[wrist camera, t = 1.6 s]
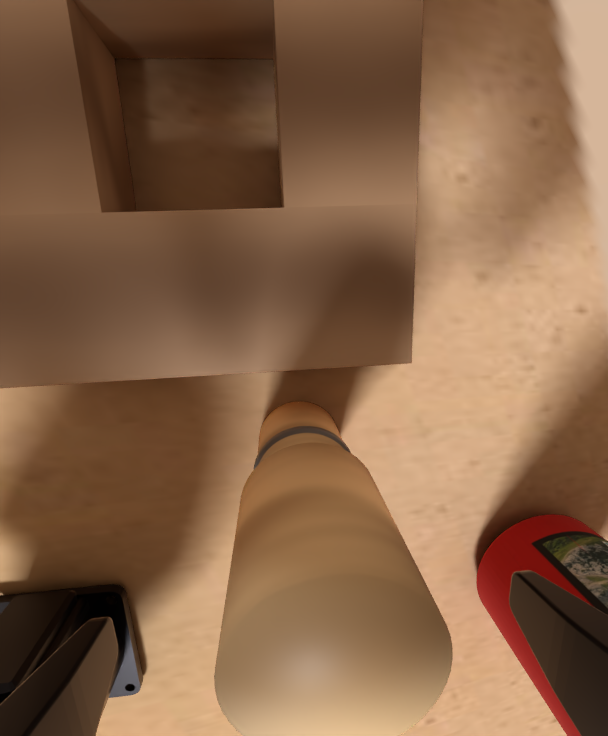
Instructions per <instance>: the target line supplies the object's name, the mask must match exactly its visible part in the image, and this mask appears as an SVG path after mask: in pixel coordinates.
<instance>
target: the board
mask: <svg viewBox="0 0 608 736" xmlns="http://www.w3.org/2000/svg"><path fill="white" fill-rule="evenodd" d="M422 30H423V0H0V388H11V387H28V386H44V385H61V384H77V383H94V382H110V381H127V380H143V379H160V378H176V377H193V376H209V375H226V374H242V373H259V372H275V371H292V370H308V369H325V368H341V367H358V366H374V365H391V364H407V363H412V333H413V303H414V273H415V242H416V212H417V182H418V151H419V121H420V91H421V60H422ZM114 58H190V59H273V60H274V79H275V98H276V117H277V136H278V155H279V174H280V193H281V208H251V209H214V210H178V211H141V212H136V205H135V199H134V192H133V185H132V178H131V171H130V164H129V157H128V150H127V143H126V136H125V129H124V122H123V116H122V109H121V102H120V95H119V88H118V81H117V74H116V67H115V60H114Z"/></svg>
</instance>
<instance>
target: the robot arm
mask: <svg viewBox="0 0 608 736" xmlns="http://www.w3.org/2000/svg"><path fill="white" fill-rule="evenodd" d="M112 596H114V597H112ZM509 605H510V608H511V611H512V613H513V615H514V617H515V619H516V621H517V623H518V625H519V627H520V629H521V630H522V632H523V634H524V636H525V638H526V640H527V642H528V644H529V646H530V648H531V650H532V651H533V653H534V655H535V657H536V659H537V661H538V663H539V665H540V667H541V669H542V671H543V672H544V674H545V676H546V678H547V680H548V682H549V684H550V685H551V687H552V689H553V691H554V693H555V694H556V696H557V698H558V699H559V701H560V703H561V704H562V706H563V707H564V709H565V711H566V712H567V714H568V715H569V717H570V719H571V720H572V722H573V724H574V725H575V727H576V728H577V730H578V732H579V733H580V735H581V736H608V615H606V614H605V613H603V612H601V611H600V610H598V609H596V608H595V607H593V606H591V605H590V604H588V603H586V602H585V601H583V600H581V599H579V598H578V597H576V596H574V595H573V594H571V593H569V592H568V591H566V590H564V589H563V588H561V587H559V586H558V585H556V584H554V583H553V582H551V581H549V580H547V579H546V578H544V577H542V576H541V575H539V574H537V573H536V572H534V571H531V570H525V571H516V572H514V573H513V574H512V577H511V586H510V594H509ZM142 682H143V675H142V670H141V665H140V660H139V655H138V650H137V645H136V640H135V635H134V630H133V625H132V620H131V615H130V610H129V605H128V600H127V595H126V591H125V589H124V588H123V587H122V586H120V585H115V584H113V585H103V586H93V587H83V588H73V589H63V590H53V591H43V592H33V593H23V594H13V595H3V596H0V736H95V735H96V732H97V728H98V724H99V721H100V718H101V715H102V713H103V710H104V708H105V705H106V703H107V700H108V698H111V697H119V696H128V695H133V694H136V693H138V692H139V690H140V688H141V685H142Z"/></svg>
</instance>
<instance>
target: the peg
mask: <svg viewBox="0 0 608 736" xmlns="http://www.w3.org/2000/svg"><path fill="white" fill-rule="evenodd" d="M451 665H452V642H451V637H450V633H449V631H448V628H447V625H446V623H445V621H444V619H443V617H442V615H441V613H440V611H439V609H438V607H437V605H436V603H435V601H434V599H433V597H432V595H431V593H430V591H429V589H428V587H427V585H426V583H425V581H424V579H423V577H422V575H421V573H420V571H419V569H418V567H417V565H416V563H415V561H414V559H413V558H412V556H411V554H410V552H409V550H408V548H407V546H406V544H405V542H404V540H403V538H402V536H401V534H400V532H399V530H398V528H397V526H396V524H395V522H394V520H393V518H392V516H391V514H390V512H389V510H388V508H387V506H386V504H385V502H384V500H383V498H382V496H381V494H380V492H379V490H378V488H377V486H376V484H375V482H374V480H373V478H372V476H371V474H370V473H369V471H368V469H367V468H366V467H365V465H364V464H363V463H362V462H361V461H360V460H359V459H358V458H357V457H355V456H354V455H353V454H351V452H350V450H349V449H348V447H347V446H346V444H345V443H344V442H343V441H342V438H341V436H340V434H339V431H338V429H337V427H336V425H335V422H334V420H333V419H332V417H331V416H330V415H329V413H328V412H327V411H326V410H324V409H323V408H321V407H320V406H318V405H316V404H313V403H309V402H303V401H296V402H290V403H287V404H284V405H282V406H280V407H278V408H276V409H275V410H274V411H272V412H271V413H270V414H269V415H268V417H267V418H266V419H265V421H264V423H263V425H262V427H261V430H260V436H259V447H258V456H257V458H256V461H255V464H254V470H253V472H252V473H251V475H250V476H249V478H248V479H247V481H246V484H245V486H244V488H243V492H242V495H241V502H240V508H239V515H238V521H237V528H236V535H235V541H234V548H233V554H232V561H231V568H230V574H229V581H228V587H227V594H226V601H225V607H224V614H223V620H222V627H221V634H220V640H219V647H218V653H217V660H216V667H215V675H214V679H215V691H216V695H217V700H218V702H219V705H220V707H221V709H222V712H223V713H224V715H225V716H226V718H227V719H228V721H229V722H230V723H231V725H232V726H233V727H234V728H235V729H236V730H237V731H238V732H239V733H240V734H242V735H243V736H400V735H402V734H403V733H405V732H406V731H407V730H409V729H410V728H411V727H413V726H414V725H415V724H417V723H418V722H419V721H420V720H421V719H422V718H423V717H424V716H425V715H426V714H427V713H428V712H429V710H430V709H431V708H432V707H433V706H434V704H435V703H436V701H437V700H438V698H439V697H440V695H441V694H442V692H443V689H444V687H445V685H446V683H447V680H448V677H449V674H450V671H451Z"/></svg>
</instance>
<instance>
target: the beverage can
mask: <svg viewBox="0 0 608 736" xmlns="http://www.w3.org/2000/svg"><path fill="white" fill-rule="evenodd" d="M525 570H531V571H534V572H536V573H537V574H539V575H541V576H542V577H544V578H546V579H547V580H549V581H551V582H553V583H554V584H556V585H558V586H559V587H561V588H563V589H564V590H566V591H568V592H569V593H571V594H573V595H574V596H576V597H578V598H579V599H581V600H583V601H585V602H586V603H588V604H590V605H591V606H593V607H595V608H596V609H598V610H600V611H601V612H603V613H605V614H606V615H608V541H606V540H605V539H604V538H603V537H601V536H600V535H599V534H597V533H596V532H595V531H593V530H592V529H591V528H589V527H588V526H587V525H585V524H584V523H582V522H581V521H579V520H577V519H574V518H572V517H569V516H564V515H555V514H551V515H540V516H535V517H531V518H528V519H525V520H523V521H521V522H519V523H517V524H515V525H513V526H511V527H510V528H508V529H507V530H505V531H504V532H503V533H502V534H500V535H499V536H498V537H497V538H496V539H495V540H494V541H493V542H492V544H491V545H490V546H489V547H488V549H487V550H486V552H485V554H484V555H483V557H482V559H481V562H480V565H479V568H478V572H477V590H478V594H479V597H480V599H481V601H482V603H483V605H484V606H485V608H486V610H487V611H488V613H489V614H490V616H491V617H492V619H493V621H494V622H495V624H496V625H497V627H498V628H499V630H500V632H501V633H502V635H503V636H504V638H505V640H506V641H507V643H508V644H509V646H510V647H511V649H512V651H513V652H514V654H515V655H516V657H517V658H518V660H519V661H520V663H521V665H522V666H523V668H524V669H525V671H526V672H527V674H528V675H529V677H530V679H531V680H532V682H533V683H534V685H535V686H536V688H537V689H538V691H539V693H540V694H541V696H542V697H543V699H544V700H545V702H546V703H547V705H548V707H549V708H550V710H551V711H552V713H553V714H554V716H555V717H556V719H557V720H558V722H559V724H560V725H561V727H562V728H563V730H564V731H565V733H566V734H567V736H581V735H580V733H579V732H578V730H577V728H576V727H575V725H574V724H573V722H572V720H571V719H570V717H569V715H568V714H567V712H566V711H565V709H564V707H563V706H562V704H561V703H560V701H559V699H558V698H557V696H556V694H555V693H554V691H553V689H552V687H551V685H550V684H549V682H548V680H547V678H546V676H545V674H544V672H543V671H542V669H541V667H540V665H539V663H538V661H537V659H536V657H535V655H534V653H533V651H532V650H531V648H530V646H529V644H528V642H527V640H526V638H525V636H524V634H523V632H522V630H521V629H520V627H519V625H518V623H517V621H516V619H515V617H514V615H513V613H512V611H511V608H510V605H509V594H510V586H511V577H512V574H513V573H514V572H516V571H525Z"/></svg>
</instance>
